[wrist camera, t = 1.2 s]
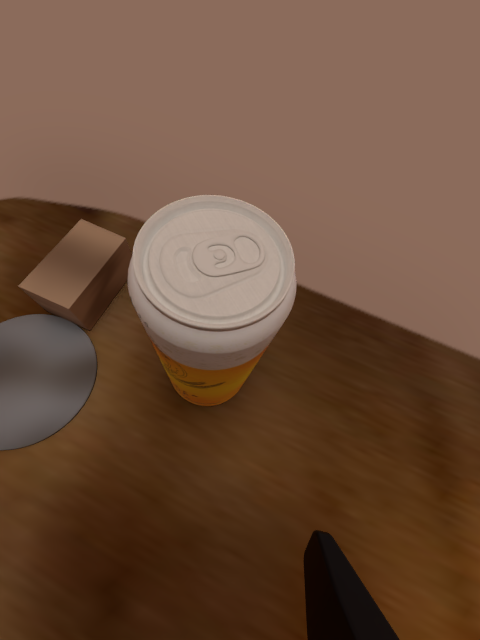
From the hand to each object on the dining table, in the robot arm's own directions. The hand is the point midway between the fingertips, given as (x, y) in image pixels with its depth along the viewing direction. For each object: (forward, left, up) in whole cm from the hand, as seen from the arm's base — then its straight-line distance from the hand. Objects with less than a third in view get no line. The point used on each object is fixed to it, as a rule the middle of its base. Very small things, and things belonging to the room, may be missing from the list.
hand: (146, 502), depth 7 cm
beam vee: (+5, +14, -14) cm, 21 cm away
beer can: (+7, 0, -14) cm, 16 cm away
